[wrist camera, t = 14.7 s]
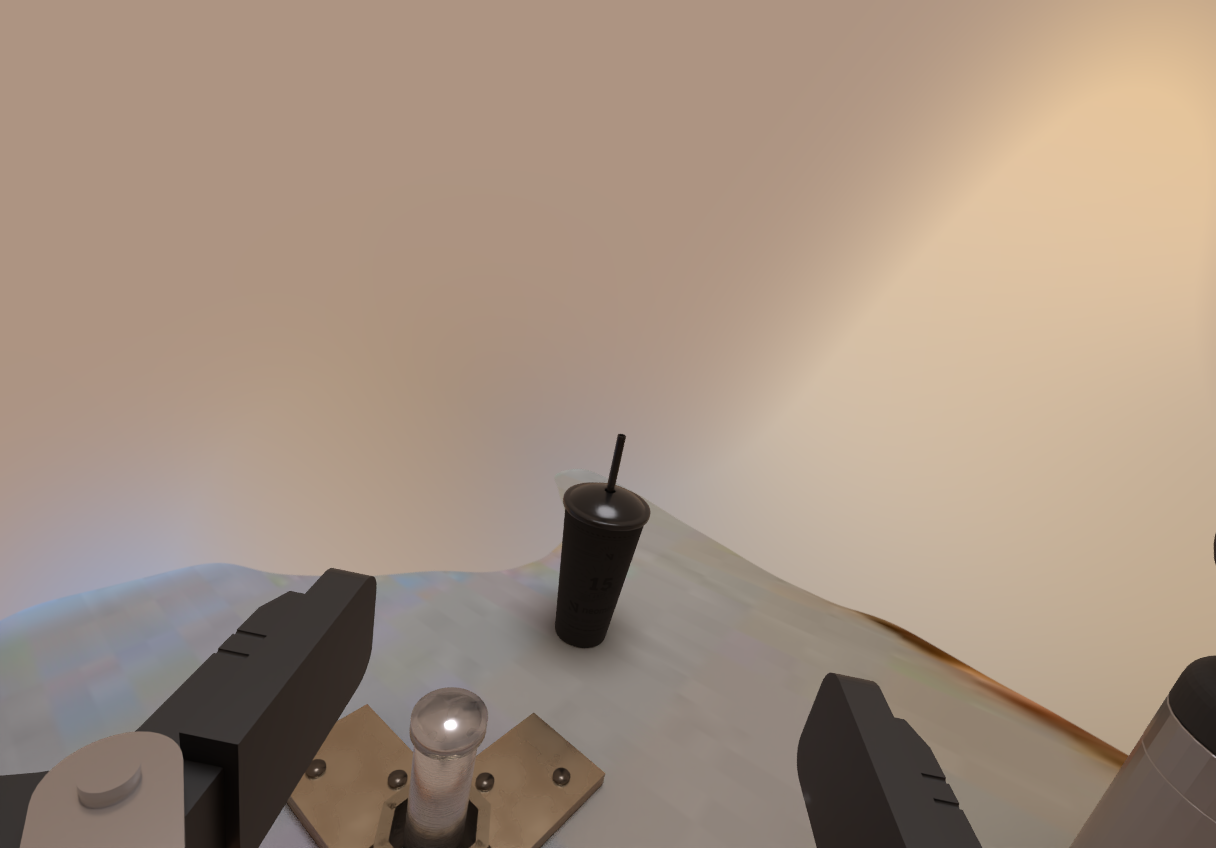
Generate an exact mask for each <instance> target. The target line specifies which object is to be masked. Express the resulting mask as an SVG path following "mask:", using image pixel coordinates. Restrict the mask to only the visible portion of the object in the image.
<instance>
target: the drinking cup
mask: <svg viewBox="0 0 1216 848" xmlns="http://www.w3.org/2000/svg"><path fill="white" fill-rule="evenodd" d="M625 438H626V436H625V435H623V434H618V437H617V442H616V446H615V451H614V456H613V461H612V465H611V470H610V474H609V479H608V483H581V484H577V485H574V486H572V487H570V488H569V489H568V490H567V491H566V492H565V494H564V497H563V504H564V507H565V518H564V530H563V541H562V553H561V564H560V576H559V587H558V599H557V611H556V622H555V629H556V632H557V634H558V636H559V637H560V638H561V639H562V640H563V641H565V642H566V643H568V644H570V645H573V646H576V647H582V648H588V647H593V646H596V645H598V644H600V643H601V642H602V641H603V640H604V638H605V635H606V632H607V630H608V627H609V624H610V621H611V618H612V615H613V612H614V609H615V607H616V604H617V601H618V598H619V595H620V592H621V589H622V586H623V583H624V581H625V578H626V575H627V572H628V569H629V566H630V563H631V560H632V558H633V555H634V552H635V549H636V546H637V543H638V540H639V537H640V534H641V532H642V529H643V526H644V525H645V524H646V523H647V522H648V520H649V517H650V508H649V506H648V504H647V503H646V502H645V501H644V500H643V499H642V498H641V497H640V496H638V495H637V494H635V493H633V492H631V491H629V490H627V489H625V488H622V487H620V486H617V485H615V484H616V479H617V475H618V470H619V466H620V461H621V456H622V452H623V447H624V443H625Z"/></svg>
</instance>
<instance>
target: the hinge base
mask: <svg viewBox="0 0 1216 848" xmlns="http://www.w3.org/2000/svg"><path fill="white" fill-rule="evenodd" d="M412 760H413V752H412V751H411V750H410V749H409V748H408V747H407V745H406V744H405V743H404V742H403V741H402V740H401V739H400V738H399V737H398V736H397V735H396V734H395V733H394V732H393V731H392V730H391V729H390V728H389V727H388V725H387V724H386V723H385V722H384V721H383V720H382V719H381V718H380V717H379V716H378V715H377V714H376V713H375V712H374V711H373V710H372V709H371V708H370V706H369V705H368V704H367V705H365V706H363V707H361V708H360V709H358V710H356V711H354V712H353V713H351V714H349V715H347V716H346V717H344V718H342V719H340V720H338V721H337V722H336V723H335V725H334V726H333V728H332V730H331V731H330V733H329V735H328V736H327V738H326V739H325V741H324V743H323V744H322V746H321V747H320V749H319V751H318V752H317V754H316V755H315V757H314V759H313V760H312V762H311V764H310V765H309V767H308V768H307V770H306V772H305V773H304V775H303V776H302V778H301V780H300V781H299V783H298V785H297V786H296V788H295V789H294V791H293V793H292V794H291V796H290V797H289V799H288V801H287V804H288V805H289V807H290V808H291V809H292V811H293V812H294V813H295V815H296V816H297V818H298V819H299V820H300V822H301V823H302V824H303V826H304V827H305V829H306V830H307V831H308V833H309V834H310V835H311V837H312V838H313V840H314V841H315V842H316V844H317V845H318V847H319V848H401V847H402V846H403V840H404V831H405V822H406V813H407V804H408V795H409V787H410V778H411V769H412ZM604 776H605V773H604V772H603V771H602V770H601V769H600V768H598V767H597V766H596V765H595V764H594V763H592V762H591V761H590V760H589V759H588V758H587V757H585V756H584V755H583V754H582V753H581V752H580V751H578V750H577V749H576V748H575V747H574V746H572V745H571V744H570V743H569V742H568V741H567V740H565V739H564V738H563V737H562V736H561V735H560V734H558V733H557V732H556V731H555V730H554V729H552V728H551V727H550V726H549V725H548V724H547V723H545V722H544V721H543V720H542V719H541V718H539V717H538V716H537V715H536V714H535V713H533V714H531V715H530V716H529V717H527V718H526V719H525V720H523V721H522V722H521V723H519V724H518V725H517V726H515V727H514V728H513V729H511V730H510V731H509V732H508V733H506V734H505V735H504V736H502V737H501V738H500V739H498V740H497V741H496V742H494V743H493V744H492V745H490V746H489V747H488V748H486V749H485V750H484V751H482V752H481V753H480V754H479V755H477V756H476V759H475V765H474V771H473V777H472V784H471V790H470V796H469V802H468V809H467V815H466V821H465V827H464V833H463V840H462V846H461V847H462V848H540V847H541V846H542V845H543V844H544V843H545V842H546V841H547V840H548V839H549V838H550V837H551V836H552V835H553V834H554V833H555V832H556V831H557V830H558V829H559V828H560V827H561V826H562V825H563V824H564V823H565V822H566V821H567V820H568V818H569V817H570V816H571V815H572V814H573V813H574V812H575V811H576V810H577V809H578V808H579V807H580V806H581V805H582V804H583V803H584V802H585V801H586V800H587V799H588V798H589V797H590V796H591V795H592V794H593V793H594V792H595V791H596V790H597V789H598V788H599V787H600V786H601V785H602V784H603V780H604Z"/></svg>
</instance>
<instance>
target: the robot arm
mask: <svg viewBox="0 0 1216 848" xmlns="http://www.w3.org/2000/svg"><path fill="white" fill-rule="evenodd" d="M1214 560H1215V563H1216V534H1215V539H1214ZM375 600H376V579H375V577H373V576H369V575H363V574H359V573H354V572H349V571H344V570H340V569H334V568H330V569H328V570H327V571H326V572H325V573H324V574H323V575H322V576H321V577H320V578H319V579H318V580H317V581H316V582H315V584H314V585H313V586H312V587H311V588H310V589H309V590H308V591H307V592H306V593H305V594H302V593H297V592H293V591H289V592H287V593H285V594H283V595H281V596H280V597H278V598H276V599H274V600H272V601H270V602H268V603H266V604H264V605H263V606H261V607H259V608H258V609H257V610H256V611H255V612H254V613H253V614H252V615H251V616H250V617H249V618H248V619H247V620H246V621H245V622H244V623H243V624H242V625H241V626H240V627H239V628H238V629H237V632H236V634H232V635H231V636H230V637H229V638H228V639H227V640H226V641H225V642H224V643H223V644H222V645H221V646H220V647H219V648H218V652H217V653H213V654H212V655H211V656H210V657H209V658H208V659H207V660H206V661H205V662H204V663H203V664H202V665H201V666H200V667H199V668H198V669H197V670H196V671H195V672H194V673H193V674H192V675H191V676H190V677H189V678H188V679H187V680H186V681H185V682H184V683H183V684H182V685H181V686H180V687H179V688H178V689H177V690H176V691H175V692H174V693H173V694H172V695H171V696H170V697H169V698H168V699H167V700H166V701H165V702H164V703H163V704H162V705H161V706H160V707H159V708H158V709H157V710H156V711H155V712H154V713H153V714H152V715H151V716H150V717H149V718H148V719H147V720H146V721H145V722H144V723H143V725H142V726H141V727H139V728H138V729H137V730H136V731H135V732H128V733H122V734H118V735H113V736H110V737H107V738H104V739H101V740H98V741H96V742H93V743H91V744H89V745H87V746H85V747H83V748H81V749H79V750H77V751H76V752H74V753H72V754H71V755H69V756H68V757H66V758H65V759H63V760H62V761H61V762H60V763H58V764H57V765H56V766H55V767H53V768H52V769H51V770H50V771H45V772H38V773H27V774H16V775H4V776H0V848H258V847H259V846H260V844H261V843H262V841H263V839H264V838H265V836H266V835H267V833H268V831H269V830H270V828H271V826H272V825H273V823H274V822H275V820H276V818H277V817H278V815H279V814H280V812H281V810H282V809H283V807H284V805H285V804H286V802H287V801H288V799H289V797H290V796H291V794H292V793H293V791H294V789H295V788H296V786H297V785H298V783H299V781H300V780H301V778H302V776H303V775H304V773H305V772H306V770H307V768H308V767H309V765H310V764H311V762H312V760H313V759H314V757H315V755H316V754H317V752H318V751H319V749H320V747H321V746H322V744H323V743H324V741H325V739H326V738H327V736H328V735H329V733H330V731H331V730H332V728H333V726H334V725H335V723H336V722H337V720H338V718H339V717H340V715H341V714H342V712H343V710H344V709H345V707H346V705H347V704H348V702H349V701H350V699H351V697H352V696H353V694H354V693H355V691H356V689H357V688H358V686H359V684H360V682H361V680H362V678H363V676H364V674H365V671H366V669H367V666H368V663H369V659H370V655H371V650H372V640H373V627H374V614H375ZM797 770H798V777H799V781H800V785H801V789H802V793H803V796H804V800H805V804H806V808H807V812H808V816H809V820H810V823H811V827H812V831H813V835H814V839H815V843H816V846H817V848H982V846H981V844H980V843H979V841H978V839H977V837H976V835H975V833H974V831H973V829H972V827H971V825H970V823H969V821H968V820H967V818H966V816H965V814H964V812H963V810H960V809H959V802H958V800H957V798H956V796H955V795H954V793H953V791H952V789H951V787H950V785H949V784H946V781H945V779H946V777H945V775H944V773H943V772H942V770H941V768H940V766H939V764H938V762H937V760H936V758H935V756H934V754H933V752H932V750H931V749H930V747H929V746H928V745H927V744H926V743H925V742H924V740H923V739H922V738H921V737H920V736H919V735H918V734H917V733H916V732H915V731H914V729H913V728H912V727H911V726H910V725H909V724H908V723H907V722H906V721H905V720H904V719H899V718H894V716H893V714H892V712H891V710H890V708H889V706H888V704H887V702H886V700H885V698H884V695H883V693H882V691H881V689H880V688H879V686H878V685H877V684H876V683H875V682H873V681H869V680H864V679H860V678H855V677H850V676H845V675H840V674H835V673H829V674H827V675H826V676H825V678H824V679H823V681H822V684H821V686H820V689H819V691H818V694H817V696H816V699H815V701H814V704H813V706H812V709H811V711H810V714H809V716H808V719H807V721H806V724H805V727H804V729H803V732H802V734H801V737H800V740H799V745H798V752H797ZM1069 848H1216V656H1208V657H1203V658H1200V659H1198V660H1195V661H1194V662H1192V663H1191V664H1190V665H1188V666H1187V668H1186V669H1185V670H1184V671H1183V672H1182V674H1181V675H1180V677H1179V678H1178V680H1177V681H1176V683H1175V684H1174V686H1173V688H1172V689H1171V691H1170V692H1169V695H1168V696H1167V697H1166V699H1165V700H1164V702H1163V703H1162V705H1161V706H1160V708H1159V710H1158V711H1157V713H1156V714H1155V716H1154V717H1153V719H1152V720H1151V722H1150V724H1149V725H1148V726H1147V728H1146V730H1145V731H1144V733H1143V735H1142V736H1141V738H1140V740H1139V741H1138V743H1137V744H1136V746H1135V747H1134V749H1133V750H1132V752H1131V753H1130V755H1129V756H1128V758H1127V760H1126V761H1125V763H1124V764H1123V766H1122V767H1121V769H1120V770H1119V772H1118V773H1117V775H1116V777H1115V778H1114V780H1113V781H1112V783H1111V784H1110V786H1109V787H1108V789H1107V790H1106V792H1105V794H1104V795H1103V797H1102V798H1101V800H1100V801H1099V803H1098V804H1097V806H1096V807H1095V809H1094V810H1093V812H1092V814H1091V815H1090V817H1089V818H1088V820H1087V821H1086V823H1085V824H1084V826H1083V827H1082V829H1081V831H1080V832H1079V834H1078V835H1077V837H1076V838H1075V840H1074V841H1073V843H1072V844H1071V846H1070V847H1069Z"/></svg>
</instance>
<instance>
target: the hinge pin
mask: <svg viewBox="0 0 1216 848" xmlns="http://www.w3.org/2000/svg"><path fill="white" fill-rule="evenodd" d="M487 721H488V711H487V708H486V706H485V704H484V702H483V701H482V700H481V699H480V698H479V697H478V696H477V695H476V694H474V693H472V692H470V691H468V690H465V689H461V688H442V689H438V690H435V691H432V692H430V693H428V694H427V695H425V696H424V697H422V698H421V699H420V700H419V701H418V702H417V704H416V705H415V707H414V709H413V711H412V714H411V723H410V738H411V741H412V743H413V745H414V751H413V760H412V769H411V778H410V787H409V795H408V804H407V813H406V822H405V831H404V840H403V848H461V846H462V840H463V833H464V827H465V821H466V815H467V809H468V802H469V796H470V790H471V784H472V777H473V771H474V765H475V759H476V752H477V748H478V747H479V745H480V744H481V743H482V741H483V739H484V737H485V733H486V727H487Z"/></svg>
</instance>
